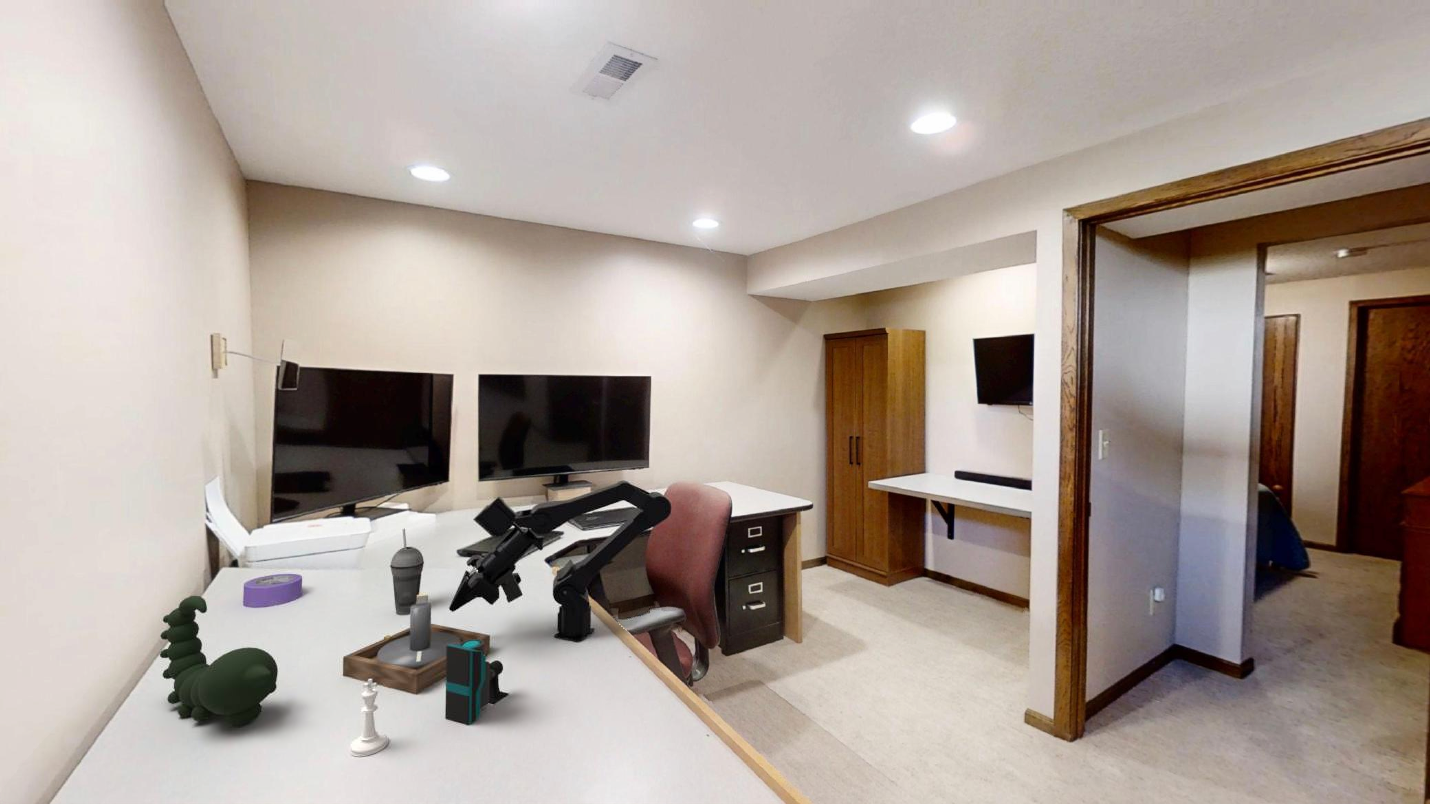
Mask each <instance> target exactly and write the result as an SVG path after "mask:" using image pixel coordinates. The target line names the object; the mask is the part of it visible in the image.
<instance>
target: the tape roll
mask: <svg viewBox="0 0 1430 804" xmlns="http://www.w3.org/2000/svg"><path fill="white" fill-rule="evenodd" d="M242 593H243V596H242V597H243V599H242V605H243V606H244V607H247V608H269V607H275V605H276V606H280V605H284V604H288V603H292V602H294V601H296V599H297V600H298V599H300V598H301V597H302V593H303V576H302V575H301V574H298V573H297V574H296V573H281V574H279V573H277V574H270V575H264V576H259V577H256V578H252V579H250V580H248V581H245V582H244V583H243V592H242ZM291 601H292V602H291Z"/></svg>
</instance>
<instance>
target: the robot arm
mask: <svg viewBox="0 0 1430 804" xmlns="http://www.w3.org/2000/svg"><path fill="white" fill-rule="evenodd" d="M623 501H625V502H627V503H628V504H630V505H632V506H634V507H635V509H634V510H633V512H632V514H631V516H630V517H629V518H628V519H627V520H626V521H625V522H624V523H622V524H621V525H620V526H618V528H617V529H616V530H614V532H612V534H610V535H609V536H608V537H607V538H606V539H605V540H603V542H601V543H600V544H599V545H598V546H596V548H595V549H594V550H593V551H591V552H590V553H589V554H588V555H587V556H585V557H584V559H583V558H582V560H580V561H578V562H576V563H574V562H573V560H572V559H569V560H568V561H567V563H566V564H565V565H564V566H563V567H562V568H560V569H558V570H557V571H556V575H555V576H554V578H553V581H552V597H553V599H554V602H555V603H558V605H560V606H559V608H558V612H557V619H556V620H557V622H556V623H557V626H556V629H557V632H556V633H555V634H553V635H554V636H553V637H554V638H556V639H561V640H567V641H570V642H571V641H572V642H578V643H579V642H581V641H582V640H584V639H585V638H587V637H589V635H591V634H593V633H594V632H595V628H592V627H591V626H592V620H591V619H592V611H591V610H592V606H591V605H590V597H589V591H588V590H587V588H588V586H589V585H590V583H591V581H592V580H593V579H594V576H596V575H597V574H598V573H599V572H600V571H601V570H603V568H604V567H606V565H608V564H609V563H610V562H611V561H612V560H613V559H614V558H616V557H617V556H618V555H619V554H620V553H621V552H622V551H623V550H625V548H626V547H628V546H629V544H631V543H632V542H633V541H634V540H635V539H636V538H637V537H638V536H640V534H642V533H643V532H645V531H647V530H650V529H652V528H654V527H656V526H658V525H659V524H661V523H662V522H664V521H665V520H666V519H669V517H670V515H671V514H672V503H671V501H670V500H669V499H668V498H666V496H665V495H663V494H662V493H660V492H658V491H651V492H649V491H647V490H645V489H643V488H641V487H638V486H636V485H634V484H631V483H630V482H629V481H627V480H620V481H618V482H616V483H613V484H611V485H608V486H605V487H602V488H599V489H596V490H593V491H591V492H590V491H589V492H588V493H584V494H582V495H579V496H576V497H573V498H570V499H565V500H552V501H547V502H541V503H538V504H536V505H533V506H532V508H530V509H524V510H518V511H514V510H513V509H512V507H510V506H509V505H508V504H507V503H506V502H505V500H504V499H503V498H502V497H501V496H497V498H495V499H494V500H493V501H491V503H489V504H487V505H486V506H485V507H484V508H483V509H482V510H481V511H480V512H479V513H478V514H477V515H476V516H475V517H474V518H473V521H474V522H475V523H476V524H478V525H479V527H481V528H482V529H483V531H484V530H485V531H486V533H487V534H488V535H490V537H492V538H494V537H496V538H498V537H500V538H501V537H503V536H504V535H505V534H506V533H507V532H508V531H509V530H510V529H511V528H512V527H513V528H512V529H511V530H510V531H509V532H508V533H507V534H506V536H504V537H503V538H501V540H500V541H499V542H498V543H497V544H493V545H492V546H491V547H490V551H489V552H488V553H487V554H486V555H485V556H484V557H482V556H481V555H480V554H473V555H472V556H471V557H469V559H467V561H466V565H467V566H468V567H472V569H471V570H470V571H468V570H465V571H464V574H463V576H462V579H461V581H460V583H459V585H458V588H457V589H456V592H455V594H454V596H453V597H452V600H451V603H450V605H449V607H448V610H449V611H450V612H452V613H454V612H455V611H457V610H459V609H461V608H462V607H464V606H465V605H467V604H468V603H470V602H471V601H473V600H475V599H477V598H482V599H484V600H485V602H487V604H489V605H491V606H493V605H494V604H495V603H496V601H497V602H498V600H499V599H500V587H501V589H502V590H503V593H504V595H505V596H506V601H507V603H509V604H510V603H511V602H514V601H515V600H517V599H519V598H520V597H522V596H523V593H522V589H521V587H520V585H519V584H520V583H521V581H522V578H521V576H520V573H519V572H515V570H516V568H517V566H516V564H517V563H518V562H519V561H520V560H521V559H522V558H523V557H524V556H525V555H526V554H527V553H528V552H529V551H530V549H532V547H534V546H535V547H536V548H537V549H538V550H539V551H542V550H543V549H544V547H543V546H544V545H543V542H544V539H545V538H544V536H543V535H546V534H549V533H550V532H553V531H554V530H556V529H558V528H560V527H561V526H563V525H565V524H566V523H567V522H568V521H569V522H570V520H572V519H574V518H576V517H579V516H583V515H584V514H588V513H590V512H594V511H597V510H601V509H602V508H605V507H608V506H611V505H614V504H617V503H620V502H623ZM539 535H540V536H539ZM592 632H593V633H592Z"/></svg>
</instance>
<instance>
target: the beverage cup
mask: <svg viewBox="0 0 1430 804" xmlns="http://www.w3.org/2000/svg"><path fill="white" fill-rule="evenodd" d="M406 538H407V537H406V529H405V528H402V539H403V548H400V549H398V550H397V551H396V552H395V554H393V556H392V559H391V561H390V564H389V565H390V566H389V568H390V570H391V575H392V583H393V584H392V585H393V596H394V607H395V614H396V615H398V616H408V615H410V607H411V606H413V605H415V604H416V602H417V595H420V589H421V583H422V582H421V580H422V572H423V569H424V564H425V561H424V556H423V554H422V552H421V551H420V550H419V549H418V548H416V547H414V546H407V539H406Z"/></svg>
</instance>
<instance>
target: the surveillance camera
mask: <svg viewBox="0 0 1430 804" xmlns="http://www.w3.org/2000/svg"><path fill="white" fill-rule="evenodd" d="M503 670H504V665H503V663H502V662H501V661H500V660H493V661H492V662H489V661H487V660H486V655H484V641H483V640H481V639H470V640H466V641H463V642H462V643H460V644H459V646H458V645H453V644H448V645H446V678H445V713H444V714H445V716H444V718H445V720H447V721H452V722H455V723H458V724H460V725H461V724H462V725H464V726H471V725H472V724H473V723H475V721H477V720H478V718H479V717H480V716H481V710H482V709H483V708H485V707H486V706H488V705H489V704H490V705H494V706H495V705H496V704H497V703H499V702H500V701H501V700H503V699H505V698H506V697H507V696H509V693H508V692H506V691H505V692H504V691H502V690H501V689H500V685H499V675H501V674H502V673H503Z"/></svg>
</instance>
